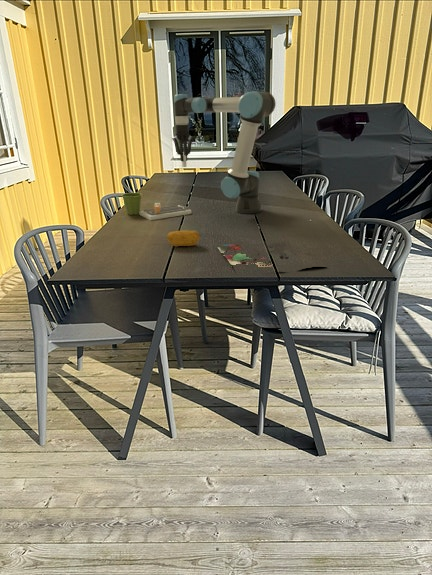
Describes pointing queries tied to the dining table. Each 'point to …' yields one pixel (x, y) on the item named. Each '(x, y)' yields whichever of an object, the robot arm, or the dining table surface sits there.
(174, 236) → the potato
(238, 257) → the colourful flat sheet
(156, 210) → the fader knob
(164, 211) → the fader panel
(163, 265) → the dining table surface
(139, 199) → the plant pot
